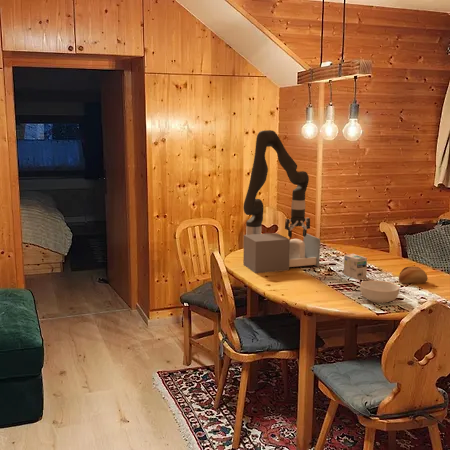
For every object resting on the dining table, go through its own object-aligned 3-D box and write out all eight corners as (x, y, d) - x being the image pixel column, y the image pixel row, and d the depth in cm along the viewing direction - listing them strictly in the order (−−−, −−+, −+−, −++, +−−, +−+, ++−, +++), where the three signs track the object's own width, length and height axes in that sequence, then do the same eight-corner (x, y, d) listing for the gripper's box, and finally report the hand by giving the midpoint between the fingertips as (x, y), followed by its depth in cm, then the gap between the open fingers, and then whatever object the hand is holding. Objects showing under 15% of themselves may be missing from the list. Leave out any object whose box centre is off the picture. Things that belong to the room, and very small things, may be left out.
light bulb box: (366, 277, 279) (367, 257, 277) (356, 279, 276) (357, 258, 274) (353, 272, 289) (353, 253, 287) (342, 274, 286) (343, 254, 284)
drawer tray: (273, 261, 310) (273, 234, 307) (304, 258, 316) (305, 232, 313) (286, 269, 293) (287, 241, 290) (319, 266, 299) (320, 238, 296)
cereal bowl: (381, 309, 232) (382, 293, 231) (351, 299, 245) (352, 284, 244) (406, 301, 242) (407, 286, 241) (376, 292, 255) (377, 278, 254)
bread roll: (393, 281, 274) (394, 265, 272) (420, 279, 277) (421, 263, 276) (404, 286, 265) (405, 270, 263) (431, 284, 268) (432, 268, 267)
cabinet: (243, 264, 304) (243, 235, 301) (275, 262, 310) (276, 232, 307) (255, 273, 287) (255, 241, 284) (289, 270, 293) (289, 239, 290)
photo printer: (287, 259, 307) (288, 237, 305) (293, 258, 310) (293, 237, 307) (300, 263, 299) (300, 241, 297) (305, 262, 301) (306, 240, 299)
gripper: (306, 206, 304) (305, 234, 307) (283, 207, 300) (282, 236, 303) (313, 208, 297) (311, 237, 301) (289, 209, 293) (288, 239, 296)
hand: (297, 236), depth 302 cm, fingers open, 8 cm apart
